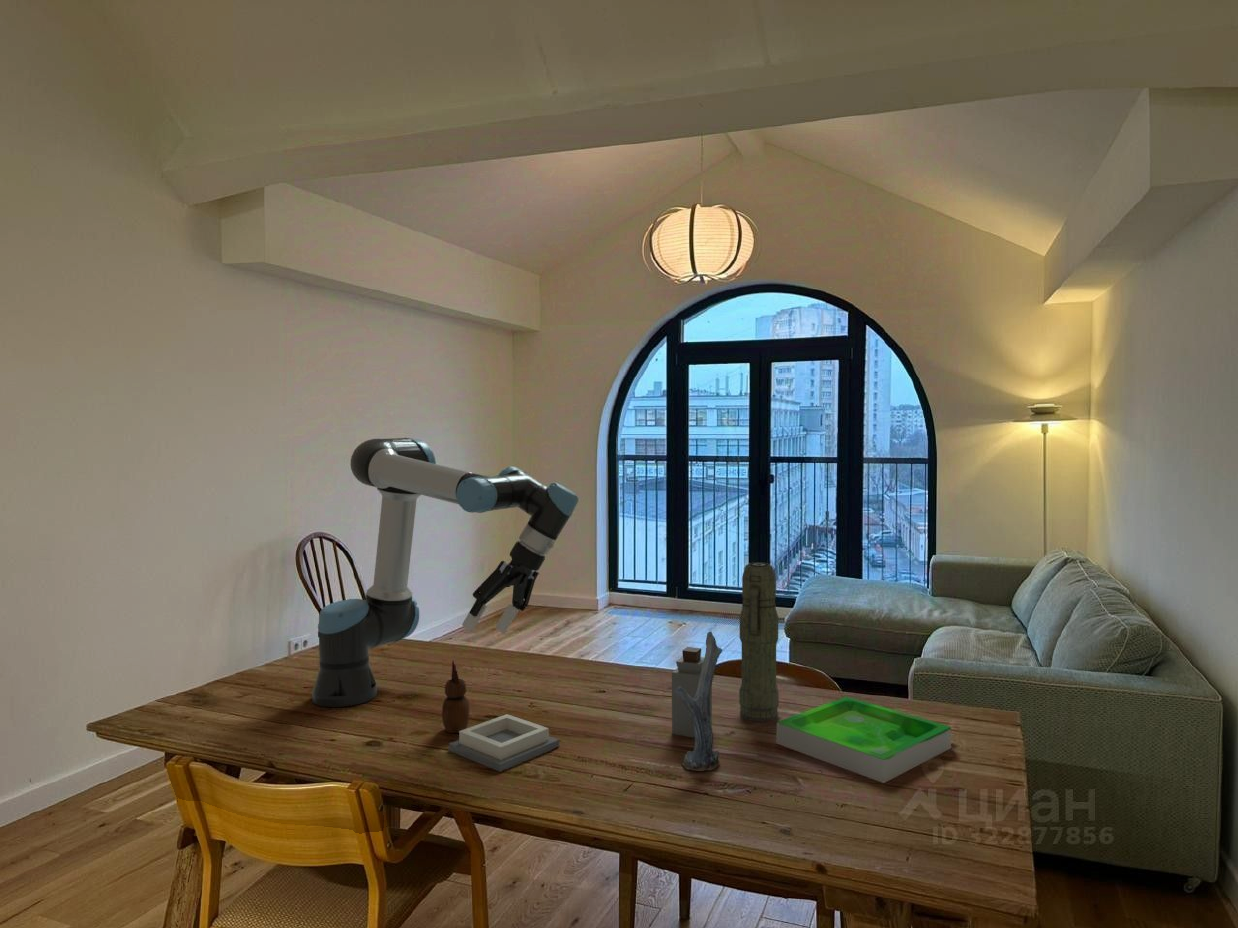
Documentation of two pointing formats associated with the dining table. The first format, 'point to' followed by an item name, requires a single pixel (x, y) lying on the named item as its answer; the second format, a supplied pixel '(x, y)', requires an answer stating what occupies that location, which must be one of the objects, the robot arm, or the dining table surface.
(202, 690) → the dining table surface
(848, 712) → the tray
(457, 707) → the wooden figurine
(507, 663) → the dining table surface
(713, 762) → the antler
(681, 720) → the perfume bottle
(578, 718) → the dining table surface
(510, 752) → the socket plinth
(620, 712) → the dining table surface
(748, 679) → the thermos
